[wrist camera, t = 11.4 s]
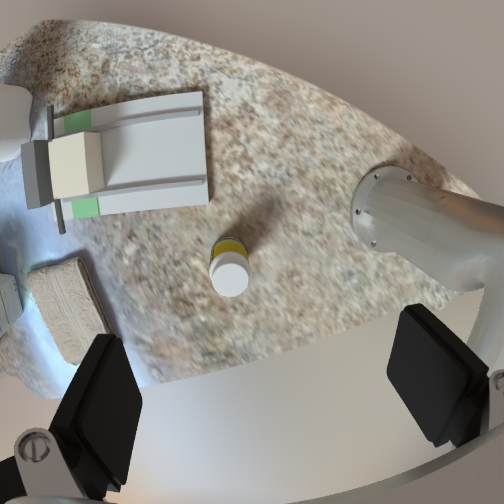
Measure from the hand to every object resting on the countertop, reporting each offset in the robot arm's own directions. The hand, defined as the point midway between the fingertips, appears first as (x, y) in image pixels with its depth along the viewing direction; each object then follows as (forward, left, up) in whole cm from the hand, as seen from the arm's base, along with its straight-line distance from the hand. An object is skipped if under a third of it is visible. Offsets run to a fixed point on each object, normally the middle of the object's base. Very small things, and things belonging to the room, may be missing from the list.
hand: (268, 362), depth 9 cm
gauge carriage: (+19, -7, -29) cm, 35 cm away
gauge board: (+14, -7, -30) cm, 34 cm away
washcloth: (+26, +15, -31) cm, 43 cm away
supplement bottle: (+1, +7, -31) cm, 31 cm away
